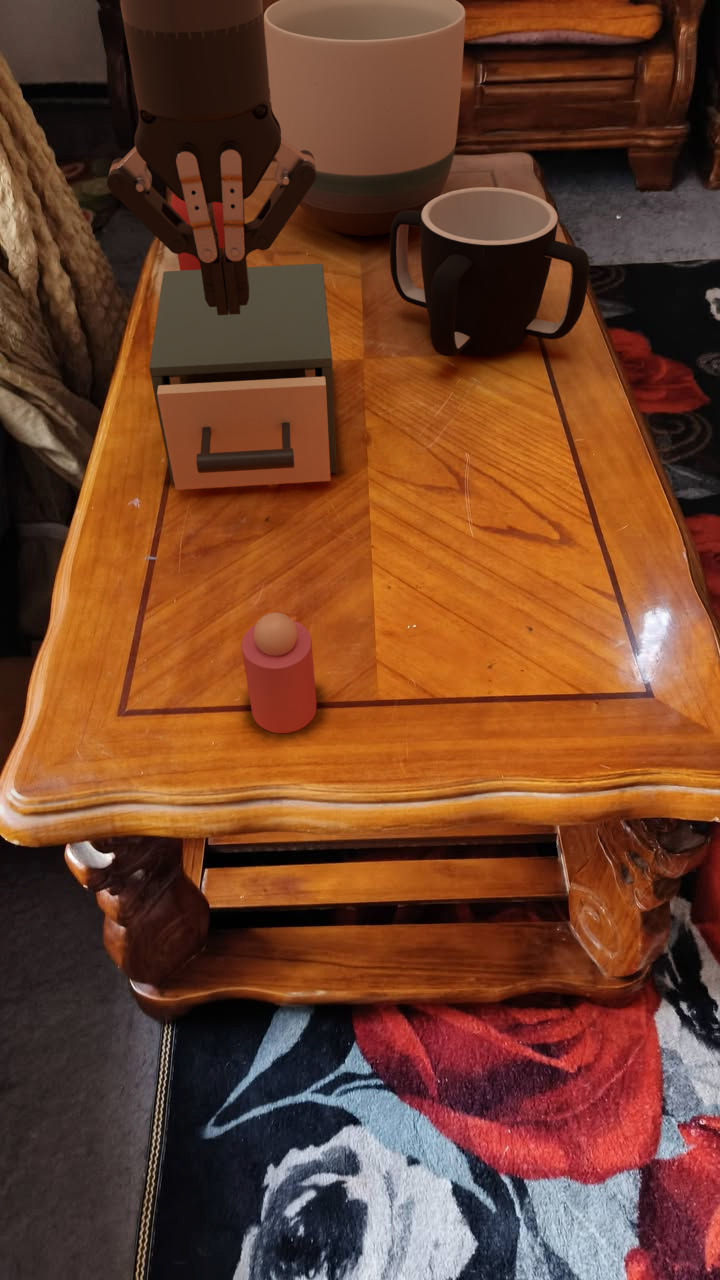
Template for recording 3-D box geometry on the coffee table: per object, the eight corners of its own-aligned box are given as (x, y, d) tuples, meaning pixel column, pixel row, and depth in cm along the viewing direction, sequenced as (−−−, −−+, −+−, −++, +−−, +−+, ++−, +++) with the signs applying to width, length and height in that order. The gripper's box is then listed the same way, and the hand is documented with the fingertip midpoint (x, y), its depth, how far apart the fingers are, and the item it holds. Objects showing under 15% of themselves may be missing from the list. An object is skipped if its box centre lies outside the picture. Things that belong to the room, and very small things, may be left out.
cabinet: (336, 473, 79) (331, 357, 71) (171, 482, 78) (148, 367, 71) (327, 372, 90) (322, 263, 82) (182, 380, 89) (163, 270, 81)
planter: (262, 258, 106) (242, 37, 91) (299, 185, 120) (286, -17, 105) (445, 268, 104) (456, 43, 88) (461, 193, 118) (473, -13, 102)
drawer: (333, 520, 73) (329, 422, 67) (171, 529, 73) (151, 432, 67) (322, 383, 87) (317, 291, 80) (185, 391, 86) (169, 299, 80)
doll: (251, 735, 60) (237, 647, 54) (251, 685, 63) (238, 596, 57) (317, 731, 60) (311, 642, 55) (315, 681, 63) (308, 591, 57)
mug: (584, 372, 89) (606, 244, 80) (415, 389, 88) (418, 261, 79) (535, 290, 100) (550, 170, 91) (384, 304, 99) (384, 184, 90)
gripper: (57, 30, 48) (124, 343, 61) (318, 20, 49) (331, 332, 61) (76, -8, 53) (134, 288, 66) (312, -17, 54) (326, 278, 67)
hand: (229, 309), depth 64 cm, fingers closed
